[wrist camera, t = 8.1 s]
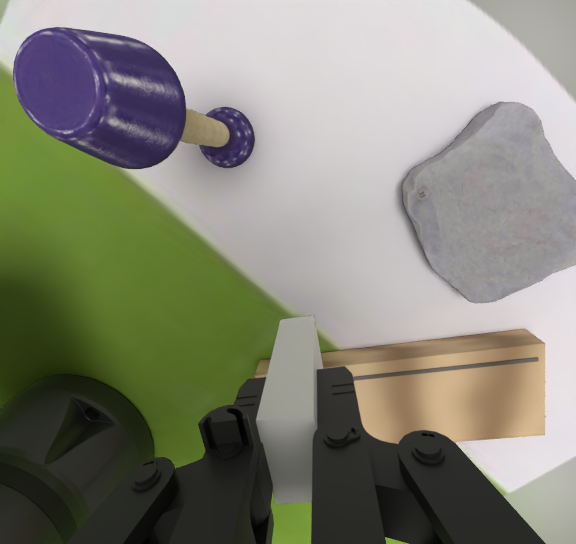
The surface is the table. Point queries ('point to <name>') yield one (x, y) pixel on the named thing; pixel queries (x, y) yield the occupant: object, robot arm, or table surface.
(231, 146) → the toy lamp
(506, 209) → the stone block
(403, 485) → the robot arm
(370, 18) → the table surface
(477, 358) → the oak board
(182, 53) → the table surface
